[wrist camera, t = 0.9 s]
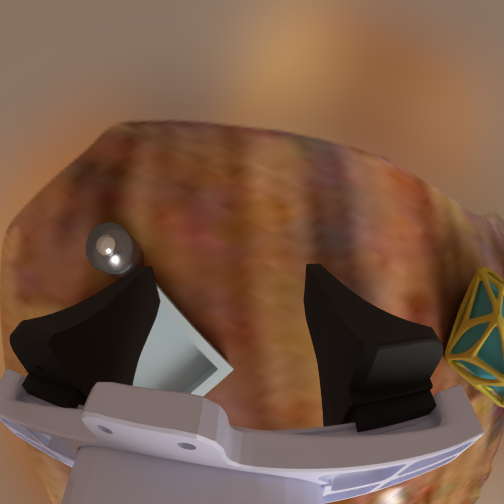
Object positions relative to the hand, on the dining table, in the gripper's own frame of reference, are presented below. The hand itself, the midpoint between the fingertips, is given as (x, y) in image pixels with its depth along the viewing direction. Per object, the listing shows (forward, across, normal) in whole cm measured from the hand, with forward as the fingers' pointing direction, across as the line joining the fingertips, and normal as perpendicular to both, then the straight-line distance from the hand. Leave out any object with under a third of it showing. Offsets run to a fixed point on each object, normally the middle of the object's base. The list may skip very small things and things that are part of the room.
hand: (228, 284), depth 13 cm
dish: (+7, +10, +14) cm, 18 cm away
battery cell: (+13, +12, +5) cm, 18 cm away
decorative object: (+16, -36, +23) cm, 46 cm away
